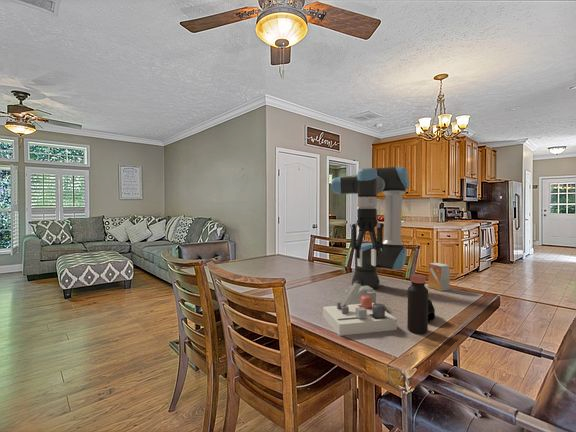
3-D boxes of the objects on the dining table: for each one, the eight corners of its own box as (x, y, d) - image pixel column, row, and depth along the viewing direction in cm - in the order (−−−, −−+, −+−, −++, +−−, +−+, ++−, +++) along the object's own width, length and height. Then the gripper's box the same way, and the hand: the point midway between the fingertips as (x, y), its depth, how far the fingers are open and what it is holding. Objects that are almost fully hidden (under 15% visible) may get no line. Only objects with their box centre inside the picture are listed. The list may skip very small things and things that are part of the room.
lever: (342, 308, 120) (359, 281, 121) (345, 311, 117) (363, 283, 118) (338, 305, 120) (355, 278, 121) (341, 308, 117) (358, 280, 118)
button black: (381, 317, 116) (381, 303, 115) (387, 321, 111) (387, 307, 111) (370, 318, 115) (370, 304, 114) (376, 322, 110) (376, 308, 110)
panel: (373, 312, 128) (373, 297, 128) (396, 329, 110) (396, 312, 110) (323, 316, 123) (323, 301, 123) (339, 335, 106) (339, 317, 105)
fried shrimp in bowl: (419, 313, 113) (393, 286, 130) (423, 334, 118) (397, 305, 134) (441, 303, 114) (412, 277, 130) (444, 324, 119) (416, 296, 135)
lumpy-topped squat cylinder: (377, 309, 131) (377, 289, 131) (347, 310, 131) (347, 290, 130) (370, 301, 141) (370, 283, 141) (342, 302, 141) (342, 283, 141)
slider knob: (363, 315, 113) (363, 307, 113) (366, 318, 110) (366, 310, 110) (355, 315, 113) (355, 307, 113) (359, 318, 110) (359, 310, 110)
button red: (368, 308, 125) (369, 295, 125) (374, 312, 121) (374, 298, 121) (359, 309, 125) (359, 295, 124) (363, 313, 120) (363, 299, 120)
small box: (428, 287, 164) (428, 263, 163) (436, 285, 166) (437, 262, 166) (440, 291, 156) (441, 266, 156) (449, 289, 159) (450, 265, 158)
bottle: (431, 334, 107) (432, 277, 106) (412, 335, 106) (413, 278, 105) (421, 326, 113) (422, 273, 112) (403, 326, 113) (404, 273, 112)
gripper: (349, 208, 115) (348, 269, 116) (393, 207, 119) (392, 266, 120) (341, 208, 123) (341, 265, 124) (383, 207, 126) (382, 262, 127)
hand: (366, 265), depth 122 cm, fingers open, 5 cm apart
